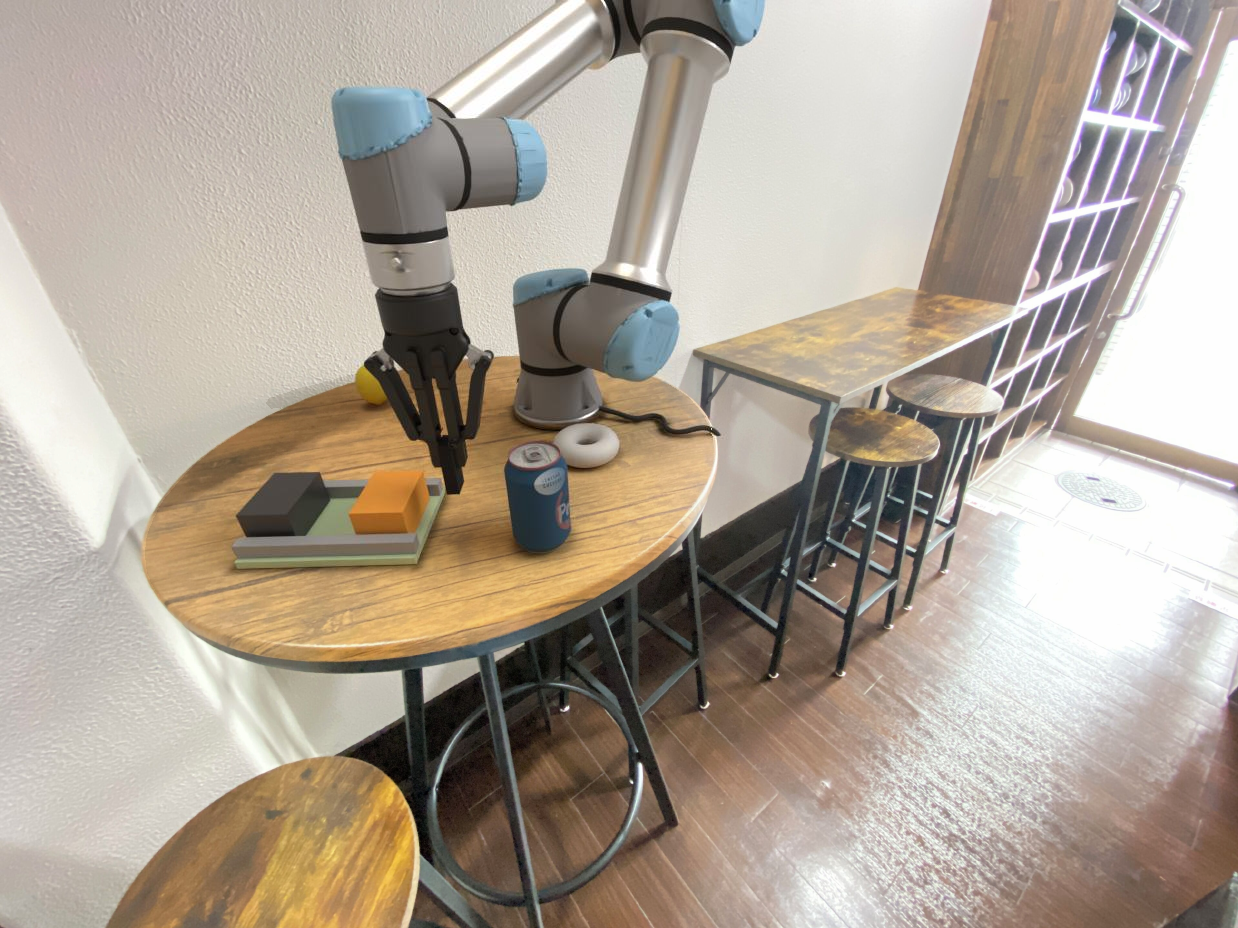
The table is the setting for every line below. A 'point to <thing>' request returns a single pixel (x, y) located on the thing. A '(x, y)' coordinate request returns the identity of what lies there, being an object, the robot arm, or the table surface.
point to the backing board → (321, 526)
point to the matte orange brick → (391, 503)
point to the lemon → (369, 387)
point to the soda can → (538, 496)
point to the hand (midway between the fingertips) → (455, 487)
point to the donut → (586, 456)
